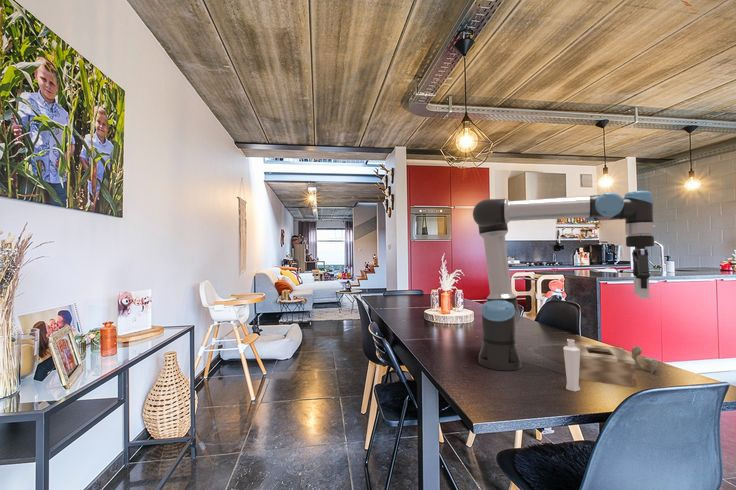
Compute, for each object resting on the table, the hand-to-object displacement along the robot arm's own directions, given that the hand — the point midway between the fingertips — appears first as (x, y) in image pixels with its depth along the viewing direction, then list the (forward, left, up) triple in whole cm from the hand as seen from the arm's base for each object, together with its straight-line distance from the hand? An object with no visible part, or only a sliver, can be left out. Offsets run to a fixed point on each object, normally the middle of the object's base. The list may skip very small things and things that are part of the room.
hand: (641, 296), depth 111 cm
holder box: (-14, -7, -27) cm, 31 cm away
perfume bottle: (-24, -25, -27) cm, 44 cm away
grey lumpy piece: (+2, +5, -27) cm, 27 cm away
